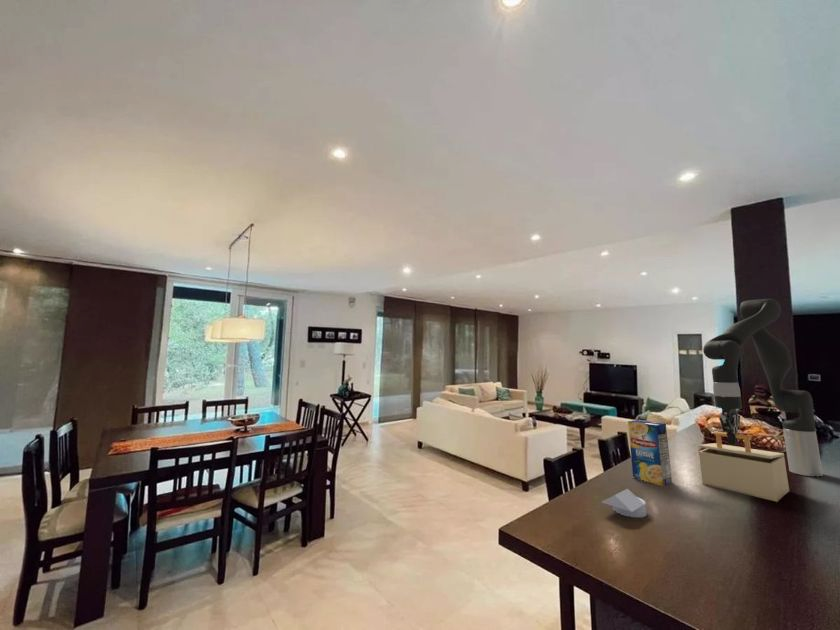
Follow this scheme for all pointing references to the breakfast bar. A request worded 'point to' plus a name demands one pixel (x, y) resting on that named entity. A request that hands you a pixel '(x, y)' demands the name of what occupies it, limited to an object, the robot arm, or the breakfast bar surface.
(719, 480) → the carton
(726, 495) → the breakfast bar surface
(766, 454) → the lid flap
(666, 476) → the blue cardboard box
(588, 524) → the breakfast bar surface
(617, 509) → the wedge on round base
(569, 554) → the breakfast bar surface
